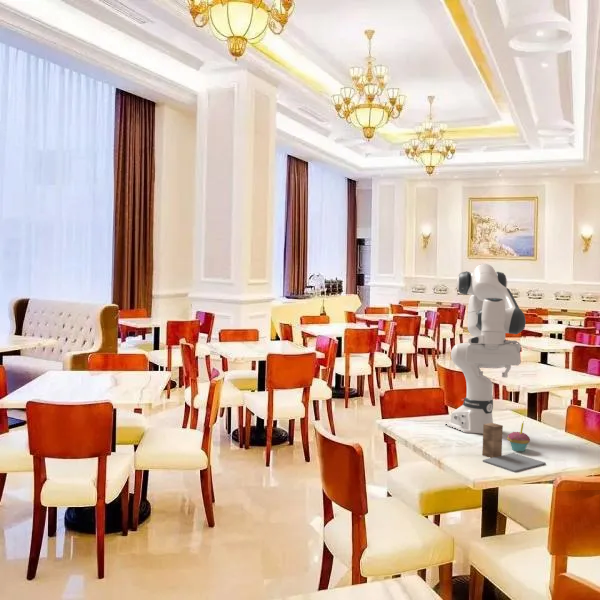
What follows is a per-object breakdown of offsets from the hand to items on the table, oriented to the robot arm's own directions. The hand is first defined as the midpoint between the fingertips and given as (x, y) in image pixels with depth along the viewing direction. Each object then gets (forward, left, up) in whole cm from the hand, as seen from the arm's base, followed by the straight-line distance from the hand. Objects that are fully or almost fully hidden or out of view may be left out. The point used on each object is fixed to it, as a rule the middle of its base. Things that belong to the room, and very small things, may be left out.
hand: (492, 376), depth 229 cm
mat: (+9, +3, -31) cm, 32 cm away
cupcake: (-1, +19, -31) cm, 36 cm away
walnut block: (-1, +3, -31) cm, 31 cm away
